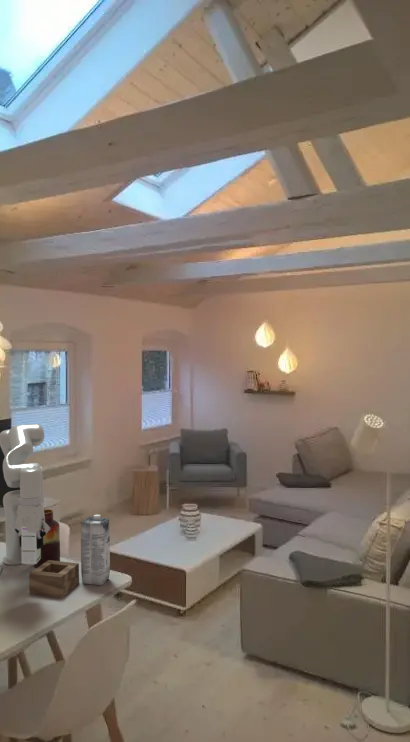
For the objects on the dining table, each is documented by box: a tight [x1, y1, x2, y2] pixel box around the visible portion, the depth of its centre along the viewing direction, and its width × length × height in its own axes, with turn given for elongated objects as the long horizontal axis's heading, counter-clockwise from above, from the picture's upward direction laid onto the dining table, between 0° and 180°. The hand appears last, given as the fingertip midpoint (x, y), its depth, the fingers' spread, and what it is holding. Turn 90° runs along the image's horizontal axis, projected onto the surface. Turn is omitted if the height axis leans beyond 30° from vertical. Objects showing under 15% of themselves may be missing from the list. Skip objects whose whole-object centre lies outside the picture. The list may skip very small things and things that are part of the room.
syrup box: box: [21, 526, 41, 565], centre depth 209 cm, size 6×6×14 cm
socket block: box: [28, 560, 80, 598], centre depth 219 cm, size 14×14×8 cm
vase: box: [33, 508, 61, 570], centre depth 235 cm, size 11×11×26 cm
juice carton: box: [80, 514, 111, 586], centre depth 225 cm, size 9×10×27 cm
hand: (31, 546), depth 209 cm, fingers closed on syrup box, 6 cm apart
